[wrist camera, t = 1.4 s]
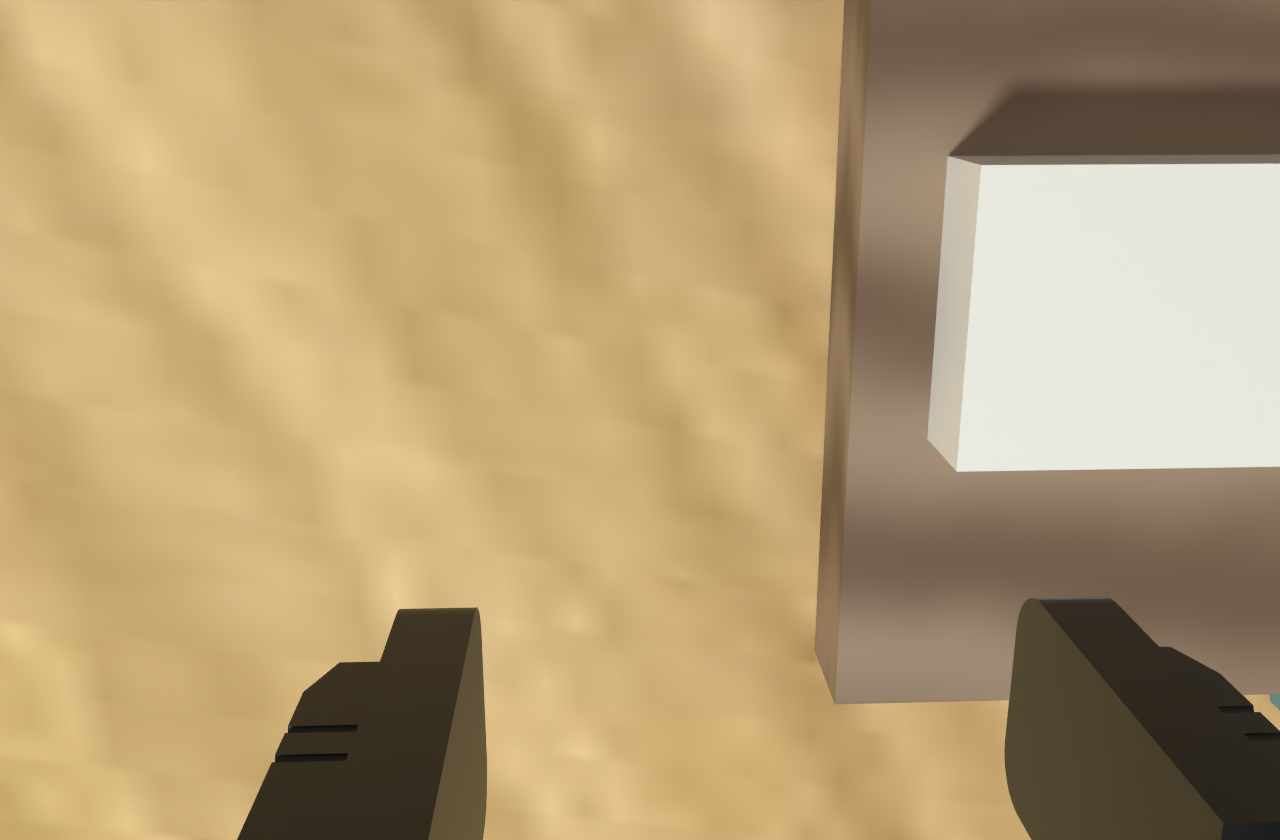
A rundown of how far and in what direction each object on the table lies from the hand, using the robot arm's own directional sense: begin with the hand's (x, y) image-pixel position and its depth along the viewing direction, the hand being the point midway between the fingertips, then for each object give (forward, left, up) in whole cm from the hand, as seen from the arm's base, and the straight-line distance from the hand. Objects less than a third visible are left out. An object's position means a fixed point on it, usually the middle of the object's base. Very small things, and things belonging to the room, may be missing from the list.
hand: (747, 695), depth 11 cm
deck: (0, +12, -21) cm, 25 cm away
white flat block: (0, +12, -18) cm, 22 cm away
